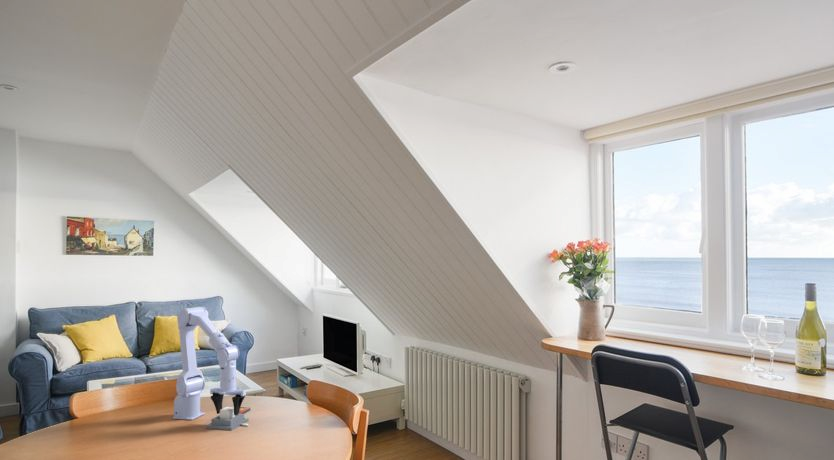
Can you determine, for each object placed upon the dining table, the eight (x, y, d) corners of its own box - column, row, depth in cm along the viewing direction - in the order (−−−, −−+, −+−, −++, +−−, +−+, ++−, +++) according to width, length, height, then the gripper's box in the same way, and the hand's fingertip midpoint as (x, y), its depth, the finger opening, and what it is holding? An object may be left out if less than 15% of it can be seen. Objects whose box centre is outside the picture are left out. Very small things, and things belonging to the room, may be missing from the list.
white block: (219, 423, 189) (219, 409, 189) (226, 419, 193) (226, 406, 193) (228, 423, 188) (228, 410, 188) (235, 420, 192) (235, 407, 192)
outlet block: (206, 428, 186) (206, 420, 186) (224, 418, 197) (224, 411, 197) (239, 431, 183) (239, 422, 183) (256, 421, 193) (256, 413, 193)
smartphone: (214, 421, 195) (214, 419, 195) (235, 409, 210) (235, 406, 210) (231, 422, 194) (231, 420, 194) (251, 410, 208) (251, 407, 209)
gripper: (205, 379, 189) (204, 415, 188) (238, 381, 185) (238, 418, 185) (217, 375, 196) (216, 410, 195) (249, 377, 192) (249, 412, 191)
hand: (227, 413), depth 190 cm, fingers open, 7 cm apart
